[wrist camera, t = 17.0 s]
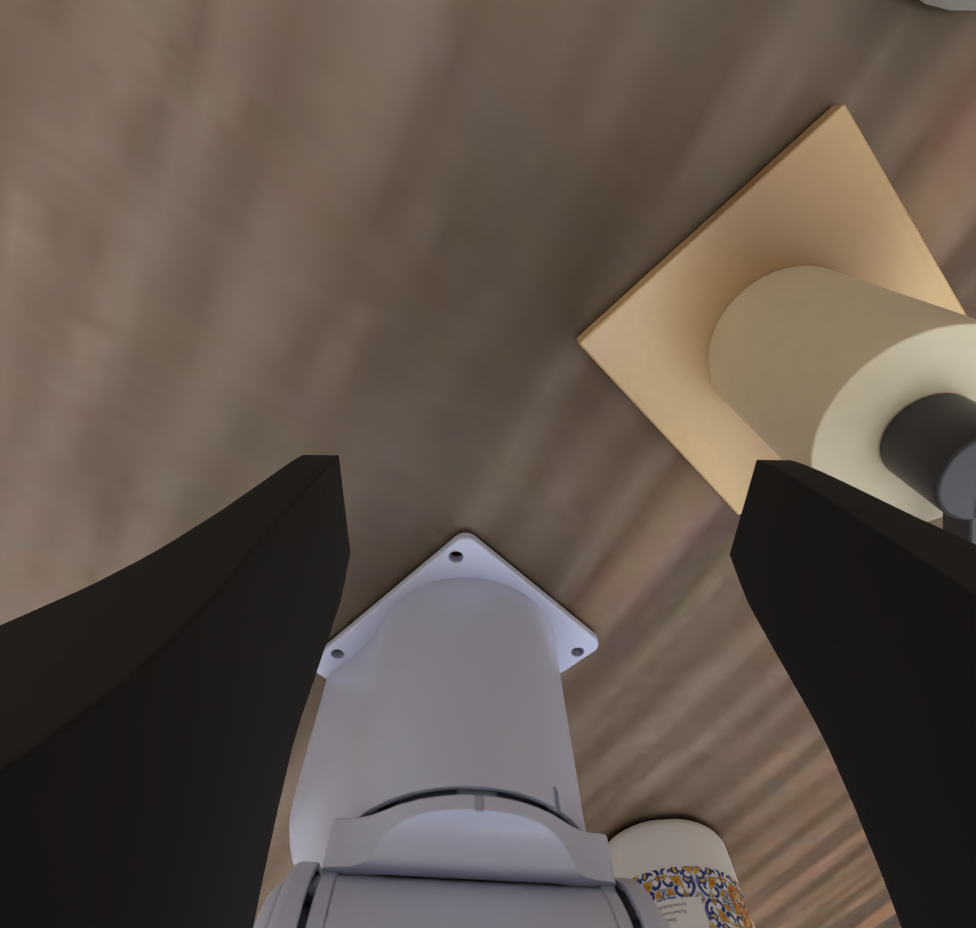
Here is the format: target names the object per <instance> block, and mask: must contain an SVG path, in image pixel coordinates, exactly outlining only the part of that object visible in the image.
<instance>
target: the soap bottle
mask: <svg viewBox="0 0 976 928" xmlns="http://www.w3.org/2000/svg"><path fill="white" fill-rule="evenodd" d="M708 369H709V375H710V378H711V381H712V384H713V386H714V388H715V390H716V392H717V393H718V394H719V396H720V397H721V398H722V399H723V400H724V401H725V402H726V403H727V404H728V405H729V406H730V407H731V408H732V409H733V410H734V411H735V412H736V413H737V415H738V416H739V417H740V418H741V419H742V420H743V421H744V422H745V423H746V424H747V425H748V426H749V427H750V428H751V429H752V430H753V431H754V432H755V433H756V434H757V435H758V436H759V437H760V438H761V439H762V440H763V441H764V442H765V443H766V444H767V445H768V446H769V447H770V448H771V449H772V450H773V451H774V452H775V453H776V454H777V455H778V456H779V457H780V458H781V459H782V460H792V461H795V462H798V463H801V464H804V465H807V466H809V467H812V468H814V469H817V470H819V471H821V472H823V473H826V474H828V475H830V476H832V477H834V478H837V479H839V480H841V481H843V482H845V483H847V484H849V485H851V486H853V487H855V488H857V489H859V490H862V491H864V492H866V493H868V494H870V495H872V496H874V497H876V498H878V499H880V500H882V501H884V502H886V503H888V504H890V505H892V506H894V507H897V508H899V509H901V510H903V511H905V512H907V513H909V514H911V515H913V516H915V517H917V518H919V519H921V520H924V521H926V522H928V521H931V520H934V519H937V518H940V517H943V530H945V531H947V532H949V533H952V534H954V535H956V536H958V537H961V538H963V539H965V540H967V541H970V542H972V543H974V544H976V319H975V318H972V317H969V316H966V315H963V314H960V313H957V312H954V311H951V310H948V309H945V308H942V307H939V306H936V305H933V304H931V303H928V302H925V301H922V300H919V299H916V298H913V297H910V296H907V295H904V294H901V293H898V292H895V291H892V290H889V289H886V288H883V287H881V286H878V285H875V284H872V283H869V282H866V281H863V280H860V279H857V278H854V277H851V276H848V275H845V274H842V273H839V272H836V271H833V270H830V269H827V268H823V267H819V266H808V265H807V266H795V267H789V268H785V269H782V270H778V271H775V272H773V273H771V274H768V275H766V276H764V277H762V278H761V279H759V280H757V281H756V282H754V283H752V284H751V285H750V286H748V287H747V288H746V289H744V290H743V291H742V292H741V293H740V294H739V295H738V296H737V297H736V298H735V299H734V300H733V301H732V302H731V303H730V305H729V306H728V307H727V308H726V310H725V311H724V313H723V314H722V315H721V317H720V319H719V321H718V323H717V325H716V327H715V329H714V332H713V334H712V337H711V341H710V345H709V351H708Z"/></svg>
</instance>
